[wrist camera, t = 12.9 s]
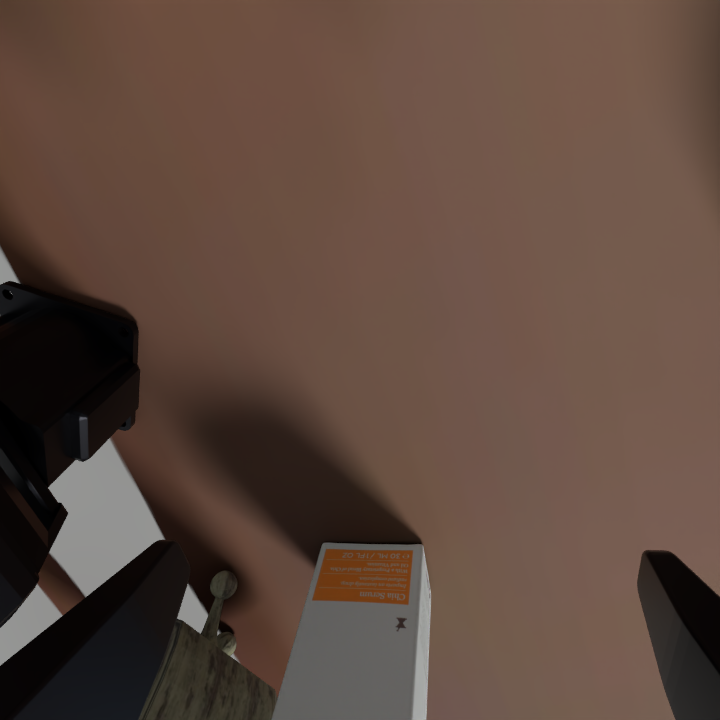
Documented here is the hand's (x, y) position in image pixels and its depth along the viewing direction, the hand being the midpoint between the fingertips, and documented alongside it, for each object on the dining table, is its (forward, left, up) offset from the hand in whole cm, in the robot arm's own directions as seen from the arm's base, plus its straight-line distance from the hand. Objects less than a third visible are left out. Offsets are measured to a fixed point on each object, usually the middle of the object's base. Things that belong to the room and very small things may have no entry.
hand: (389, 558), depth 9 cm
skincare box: (+3, -16, -12) cm, 20 cm away
